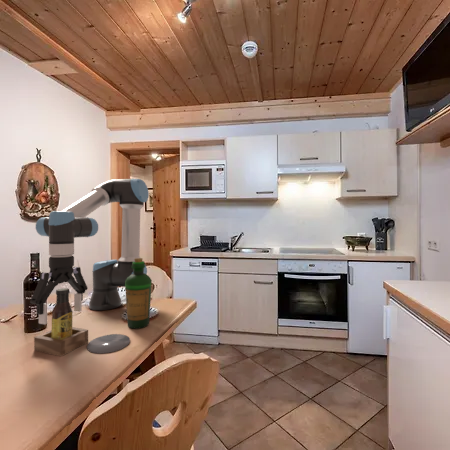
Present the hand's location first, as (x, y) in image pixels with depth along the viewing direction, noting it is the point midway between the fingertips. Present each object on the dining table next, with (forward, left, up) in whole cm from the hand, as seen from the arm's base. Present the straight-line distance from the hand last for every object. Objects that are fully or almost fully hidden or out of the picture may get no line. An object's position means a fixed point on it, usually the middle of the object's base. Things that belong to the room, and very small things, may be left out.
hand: (61, 316), depth 96 cm
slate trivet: (-7, +14, -10) cm, 19 cm away
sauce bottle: (0, 0, -11) cm, 11 cm away
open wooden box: (0, 0, -10) cm, 10 cm away
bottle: (-25, +13, -11) cm, 30 cm away
